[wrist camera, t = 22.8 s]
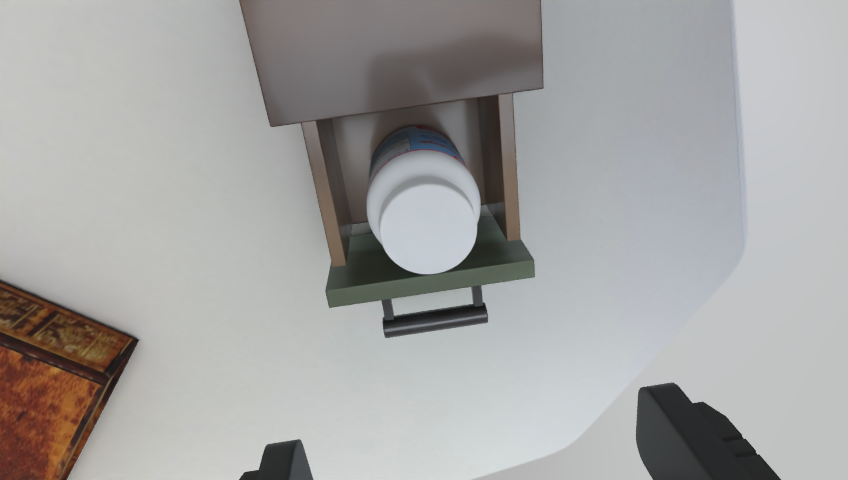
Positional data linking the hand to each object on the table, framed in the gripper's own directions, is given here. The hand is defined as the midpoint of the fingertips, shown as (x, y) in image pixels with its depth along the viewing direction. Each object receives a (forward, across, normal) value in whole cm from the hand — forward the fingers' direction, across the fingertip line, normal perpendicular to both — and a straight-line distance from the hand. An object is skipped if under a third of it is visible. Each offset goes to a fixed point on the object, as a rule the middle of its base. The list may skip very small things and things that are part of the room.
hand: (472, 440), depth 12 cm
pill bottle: (+24, 0, 0) cm, 24 cm away
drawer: (+25, 0, 0) cm, 25 cm away
